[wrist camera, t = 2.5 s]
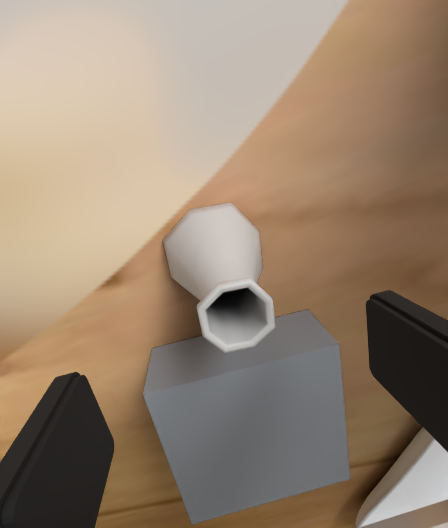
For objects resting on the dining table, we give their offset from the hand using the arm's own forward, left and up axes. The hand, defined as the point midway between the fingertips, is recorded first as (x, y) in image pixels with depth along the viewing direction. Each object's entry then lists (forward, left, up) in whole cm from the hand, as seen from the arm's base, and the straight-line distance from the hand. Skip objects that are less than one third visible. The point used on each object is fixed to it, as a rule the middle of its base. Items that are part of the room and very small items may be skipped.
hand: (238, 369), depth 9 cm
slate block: (+13, 0, -12) cm, 18 cm away
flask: (0, 0, -13) cm, 13 cm away
